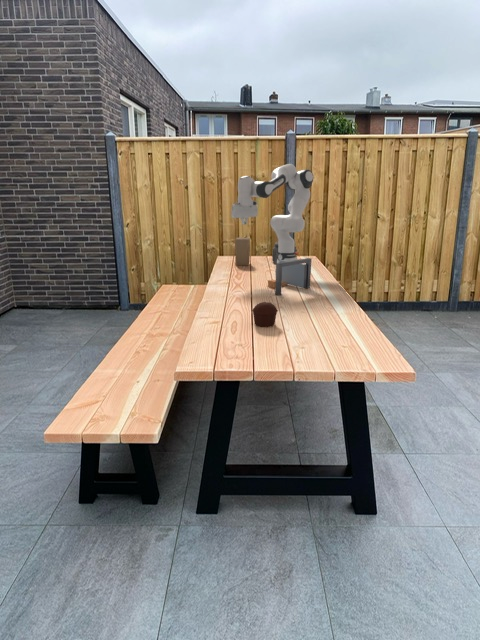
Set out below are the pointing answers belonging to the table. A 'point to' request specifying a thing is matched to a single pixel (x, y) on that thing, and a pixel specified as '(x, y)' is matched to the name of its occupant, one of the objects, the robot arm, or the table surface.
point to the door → (294, 274)
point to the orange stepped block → (274, 283)
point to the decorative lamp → (275, 252)
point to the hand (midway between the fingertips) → (244, 224)
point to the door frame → (288, 263)
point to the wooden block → (242, 251)
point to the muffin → (264, 314)
